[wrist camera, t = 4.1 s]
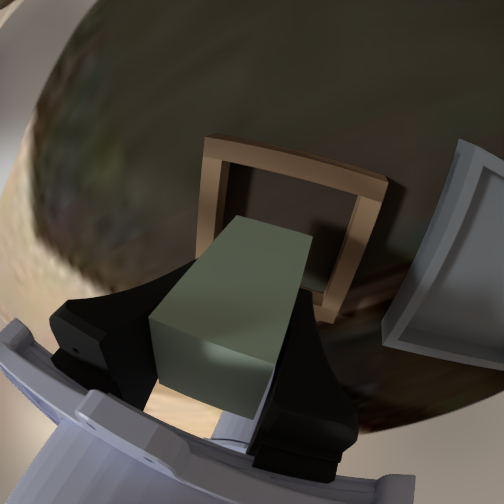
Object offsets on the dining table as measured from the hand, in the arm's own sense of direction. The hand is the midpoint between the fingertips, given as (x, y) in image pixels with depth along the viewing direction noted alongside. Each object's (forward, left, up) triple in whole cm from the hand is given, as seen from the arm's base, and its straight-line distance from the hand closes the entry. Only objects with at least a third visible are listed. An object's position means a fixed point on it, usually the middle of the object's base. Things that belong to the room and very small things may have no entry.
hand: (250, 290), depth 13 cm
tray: (+2, -16, -7) cm, 17 cm away
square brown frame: (0, 0, -7) cm, 7 cm away
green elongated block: (0, 0, -3) cm, 3 cm away
